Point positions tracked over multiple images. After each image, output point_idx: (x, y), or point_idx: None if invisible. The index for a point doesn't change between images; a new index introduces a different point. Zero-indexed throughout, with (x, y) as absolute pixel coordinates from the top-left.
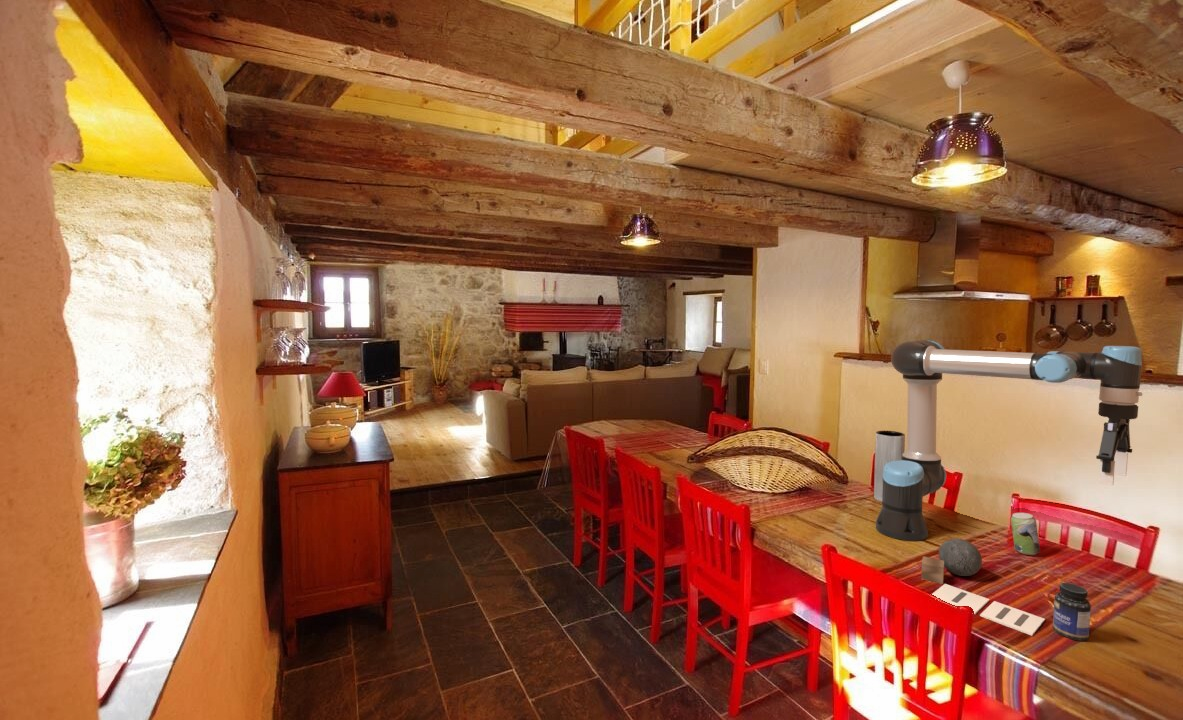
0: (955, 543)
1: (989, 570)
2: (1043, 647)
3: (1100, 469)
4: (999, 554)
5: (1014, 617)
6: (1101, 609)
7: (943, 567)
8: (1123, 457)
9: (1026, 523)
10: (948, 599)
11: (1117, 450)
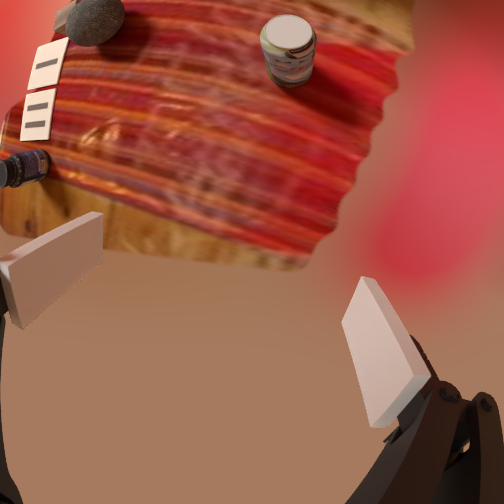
0: (70, 12)
1: (149, 44)
2: (13, 153)
3: (43, 237)
4: (240, 36)
5: (35, 117)
6: (113, 183)
7: (54, 30)
8: (373, 387)
9: (261, 43)
10: (38, 61)
11: (429, 391)
